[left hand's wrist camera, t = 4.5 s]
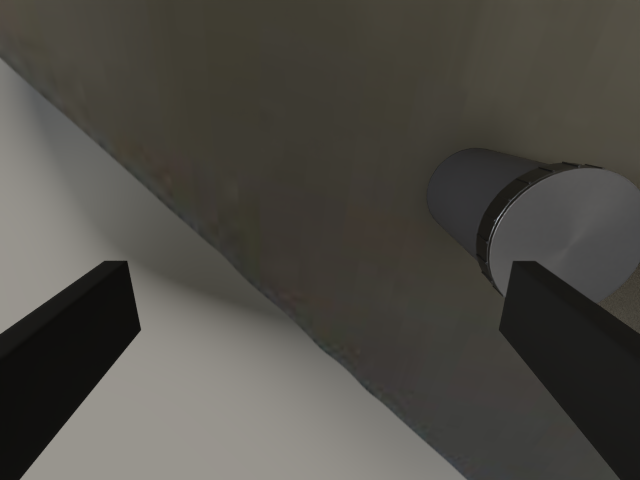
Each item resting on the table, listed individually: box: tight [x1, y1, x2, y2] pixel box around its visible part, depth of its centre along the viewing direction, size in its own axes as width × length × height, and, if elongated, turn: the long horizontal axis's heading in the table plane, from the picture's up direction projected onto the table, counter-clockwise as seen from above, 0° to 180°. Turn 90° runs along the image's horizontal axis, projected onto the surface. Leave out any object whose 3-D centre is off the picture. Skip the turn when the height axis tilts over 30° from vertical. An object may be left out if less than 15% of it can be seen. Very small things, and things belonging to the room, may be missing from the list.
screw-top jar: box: [427, 148, 549, 261], centre depth 32 cm, size 10×10×16 cm
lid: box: [476, 162, 640, 303], centre depth 25 cm, size 10×11×2 cm
